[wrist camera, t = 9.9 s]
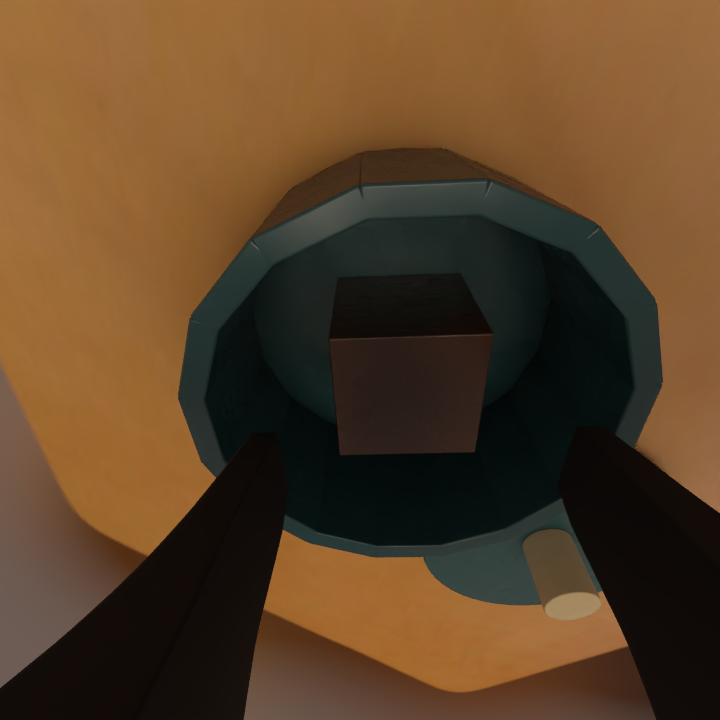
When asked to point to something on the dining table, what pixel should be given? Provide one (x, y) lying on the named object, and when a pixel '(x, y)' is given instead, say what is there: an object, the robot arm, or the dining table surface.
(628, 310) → the container
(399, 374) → the block
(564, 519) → the cover
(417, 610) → the dining table surface
